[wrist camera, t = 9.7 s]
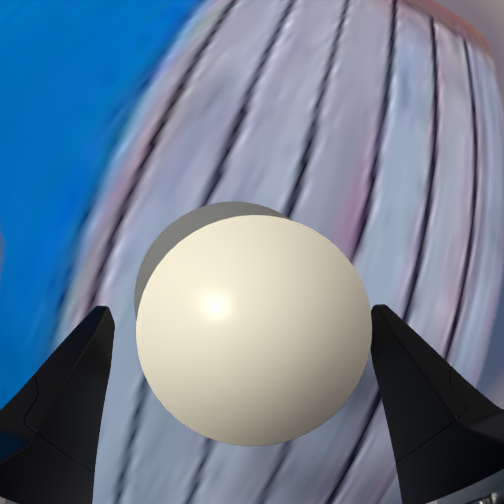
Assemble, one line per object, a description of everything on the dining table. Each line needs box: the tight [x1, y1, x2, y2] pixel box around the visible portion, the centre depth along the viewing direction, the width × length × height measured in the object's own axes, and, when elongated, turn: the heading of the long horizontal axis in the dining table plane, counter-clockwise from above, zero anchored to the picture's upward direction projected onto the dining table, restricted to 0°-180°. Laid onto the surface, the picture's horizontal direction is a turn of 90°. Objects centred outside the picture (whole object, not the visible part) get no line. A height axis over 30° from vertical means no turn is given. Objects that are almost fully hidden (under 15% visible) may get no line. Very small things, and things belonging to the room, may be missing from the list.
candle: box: [136, 215, 372, 446], centre depth 12 cm, size 4×4×13 cm
